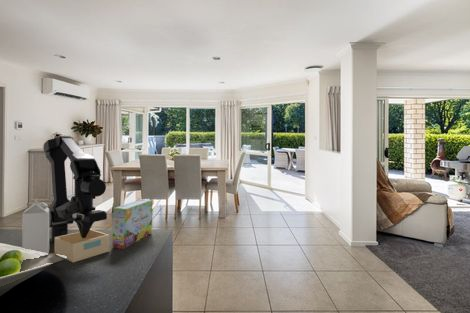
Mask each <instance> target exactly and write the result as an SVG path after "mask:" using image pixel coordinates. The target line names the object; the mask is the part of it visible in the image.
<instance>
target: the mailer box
mask: <svg viewBox="0 0 470 313" xmlns="http://www.w3.org/2000/svg"><path fill="white" fill-rule="evenodd" d="M104 235H108V234H107V233H104V232H102V231H98V230H95V229H91V228H90V230H89V232H88V234H87V236H86V238H82V237H81V234H80V231H78V232H73V233H68V235H63V236H59V237H55V243H54V255H55V254H60V255H65V256H67V260H66V261H68V262H71V263H73V262H72V244H73V243H77V242H81V241H85V240H89V239H93V238H97V237H100V236H104Z"/></svg>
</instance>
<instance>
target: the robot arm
mask: <svg viewBox="0 0 470 313" xmlns="http://www.w3.org/2000/svg"><path fill="white" fill-rule="evenodd" d="M42 149H43V151H44V154H45V158H46V160H48V162H49V163H50V166H51V167H50V169H51V170H50V171H51V183H52V196H53V197H52V198H53V200H52V201H51V203H50V205H49V206H48V208H49V228H50V237H49V243H50V242H51V243H53V244H55V237H59V236H63V235H68V234H69V230H68V228H69V226H68V225H71V224H74V222H75V223H76V225H77V226H76V227H77V228H78V232H80V234H81V237H82V238H86V236H87V234H88V232H89V230H90V229H91V228H92V226H93V224H94V223H95V222H102V221H105V220H107V219H108V214H107V213H108V212H106V211H104V210H100V209H98V210H97V209H96V207H95V206H94V199H96V197H100V196H102V195H104V193H105V192H106V189H107V186H106V183H105V181H104V180H102V179H101V176H102V174H101V173H102V171H101V169H100V167H99V165H98V163H97V160H96V159H95V157H93V156H92V155H91V154H89V153H85V152H84V151H82V149H81V148H80V146H79V145H78V144H77V143H76V142H75V140H74V137H73V136H71V135H57V136H56V137H55V138H50V139H48V140H46V141H45V142H44V143H43V148H42ZM67 159H69V160H70V162H69V163H70V164H69V168H70V171H71V173H72V174H73V178H72V179H73V181H74V182H73V184H74V192H73V193H74V195H72V196H71V198H70V200H69V198H68V190H67V179H66V178H67V177H66V165H65V164H66V163H65V162H66V160H67Z"/></svg>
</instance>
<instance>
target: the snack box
mask: <svg viewBox="0 0 470 313" xmlns="http://www.w3.org/2000/svg"><path fill="white" fill-rule="evenodd" d="M112 211H113V218H112V219H113V221H112V246H111V247H112V248H115V249H122V250H125V249H126V248H129V247H130V246H131V245H134V244H135V243H137V242H139V241H141V240H142V239H141V238H143V237H144V238H146V237H147V236H146V235H148V234H149V233H151V232H152V226H153V224H152V223H153V199H146V198H145V199H144V198H142V199H138V200H135V201H132V202H129V203H124V204H122V205H119V206H116V207H114V208H113V210H112ZM151 234H152V233H151ZM145 236H146V237H145ZM148 236H149V235H148ZM144 238H143V239H144ZM140 239H141V240H140ZM138 240H139V241H138ZM133 243H134V244H133Z"/></svg>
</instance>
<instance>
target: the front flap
mask: <svg viewBox="0 0 470 313" xmlns="http://www.w3.org/2000/svg"><path fill="white" fill-rule="evenodd" d="M110 236H111V235H110V234H108V235H104V236H100V237H97V238H93V239H89V240H85V241H81V242H77V243H73V244H72V262H71V263H76V262H79V261H83V260H85V259H89V258H93V257H96V256H99V255H102V254H106V253H109V252H110V244H111V243H110V242H111V241H110V240H111V239H110V238H111V237H110Z"/></svg>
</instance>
